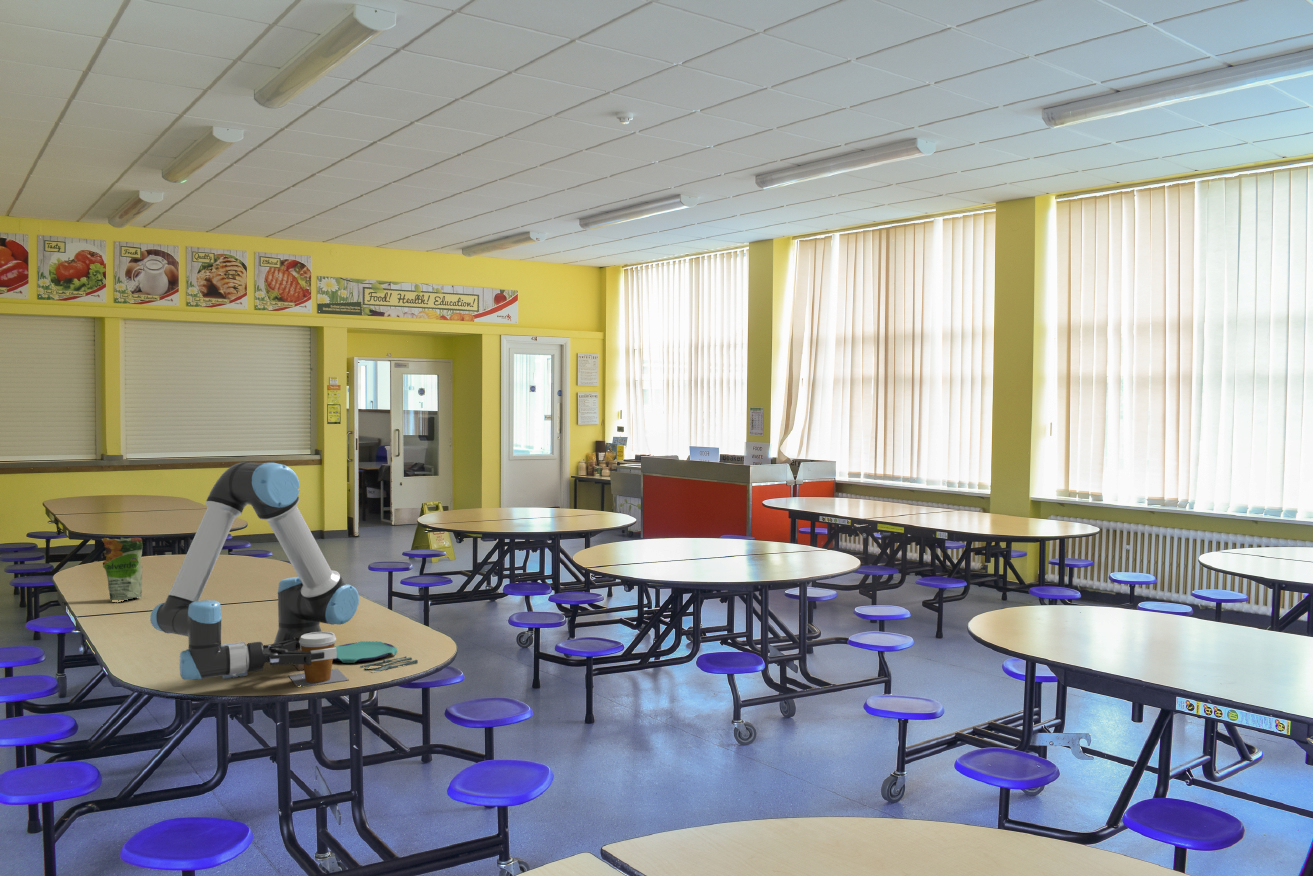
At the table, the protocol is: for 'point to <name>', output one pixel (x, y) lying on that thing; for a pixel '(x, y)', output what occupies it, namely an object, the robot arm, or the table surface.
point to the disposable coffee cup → (320, 668)
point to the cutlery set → (369, 654)
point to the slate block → (237, 673)
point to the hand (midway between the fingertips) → (330, 647)
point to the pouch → (123, 567)
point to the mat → (335, 677)
